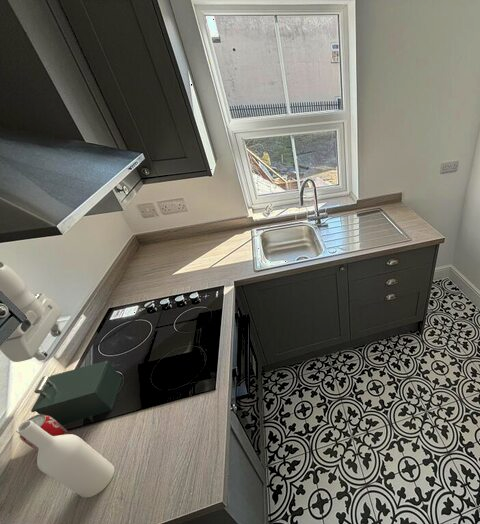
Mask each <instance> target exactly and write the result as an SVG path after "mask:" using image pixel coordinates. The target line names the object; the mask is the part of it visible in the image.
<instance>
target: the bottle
mask: <svg viewBox="0 0 480 524" xmlns="http://www.w3.org/2000/svg"><path fill="white" fill-rule="evenodd" d="M27 420H28V419H27ZM27 420H25V421H23V422H21V423H20V424H19V425H18V426H17V427H16V433H17V434H18V435H19V434H20V435H21V436H23V437H24V438H26V439H27V440H29V441H30V442H31V443H33V444H34V445H35V446H37V447H38V448H39V451H37V457H36V465H37V468H38V469H39V470H40V471H41V472H43V473H44V474H45V475H47V476H48V477H50V478H52V479H53V480H55V481H56V482H58V483H59V484H61V485H63V486H64V487H66V488H67V489H69V490H70V491H72V492H74V493H75V494H77V495H79V496H80V497H81V498H92V497H94V496H96V495H99V493H101V492H102V491H104V490H105V488H106V487H108V486H109V484H110V482H111V481H112V479H113V477H114V475H115V467H114V465H113V464H112V463H111V462H110V461H109V460H107V459H106V457H104V456H103V455H101V454H100V453H99V452H98V451H96V450H95V448H93V447H92V446H90V445H89V444H88V443H87V442H86V441H84V439H82V438H81V437H79V436H78V435H76V434H72V433H70V434H66V435H59V436H51V435H50V434H48V433H47V432H46V431H44V430H43V429H42V428H40V427H39V426H38V425H36V424H35V423H34V422H32V421H30V420H28V421H27ZM20 435H19V436H20Z"/></svg>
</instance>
